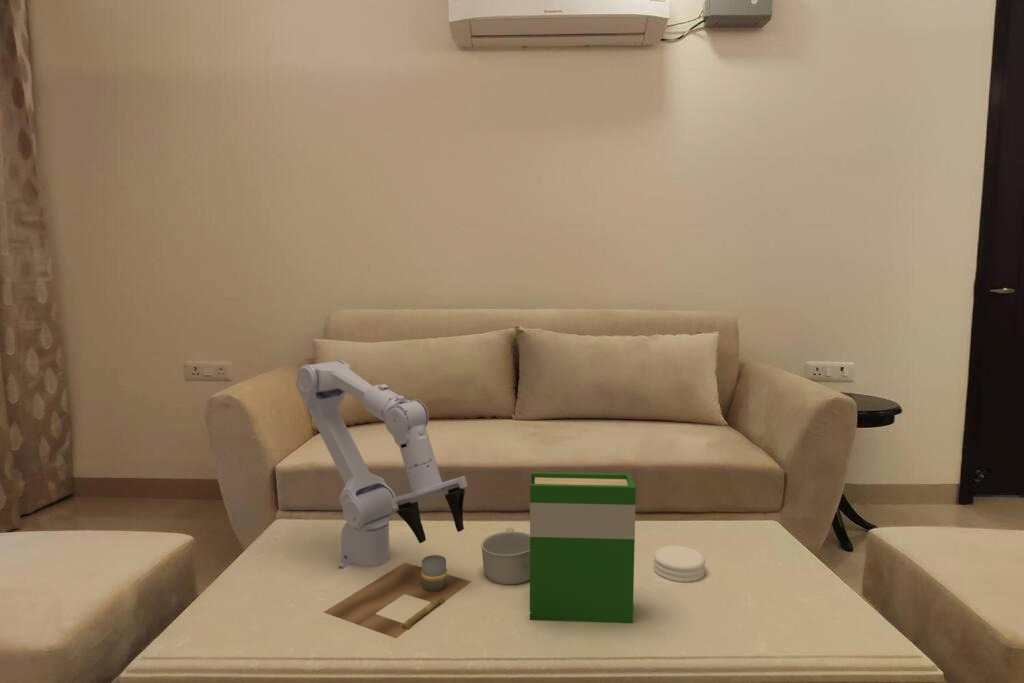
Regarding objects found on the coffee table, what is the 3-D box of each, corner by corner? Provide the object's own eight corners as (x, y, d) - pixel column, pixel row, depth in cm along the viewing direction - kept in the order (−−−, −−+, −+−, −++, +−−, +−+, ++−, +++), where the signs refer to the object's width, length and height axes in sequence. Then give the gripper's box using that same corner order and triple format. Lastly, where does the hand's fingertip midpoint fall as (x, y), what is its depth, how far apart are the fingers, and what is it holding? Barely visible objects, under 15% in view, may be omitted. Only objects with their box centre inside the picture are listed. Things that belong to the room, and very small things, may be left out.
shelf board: (323, 620, 113) (323, 606, 112) (405, 569, 132) (404, 557, 131) (396, 647, 105) (396, 632, 105) (472, 588, 124) (471, 576, 124)
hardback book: (529, 620, 113) (530, 485, 110) (530, 598, 120) (531, 471, 118) (632, 623, 112) (635, 487, 109) (627, 601, 119) (630, 473, 117)
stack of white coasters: (693, 588, 124) (693, 571, 124) (645, 573, 130) (645, 557, 130) (712, 569, 132) (712, 553, 132) (666, 556, 138) (666, 540, 138)
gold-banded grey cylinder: (416, 588, 121) (416, 562, 120) (431, 577, 125) (431, 552, 124) (437, 594, 119) (436, 568, 118) (451, 583, 123) (451, 558, 122)
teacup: (532, 596, 121) (532, 555, 120) (475, 591, 123) (474, 550, 122) (543, 563, 135) (543, 526, 134) (492, 559, 137) (492, 522, 136)
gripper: (377, 478, 119) (398, 552, 118) (450, 455, 117) (472, 529, 115) (391, 473, 126) (411, 542, 125) (460, 451, 124) (482, 521, 122)
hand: (441, 536), depth 121 cm, fingers open, 7 cm apart
